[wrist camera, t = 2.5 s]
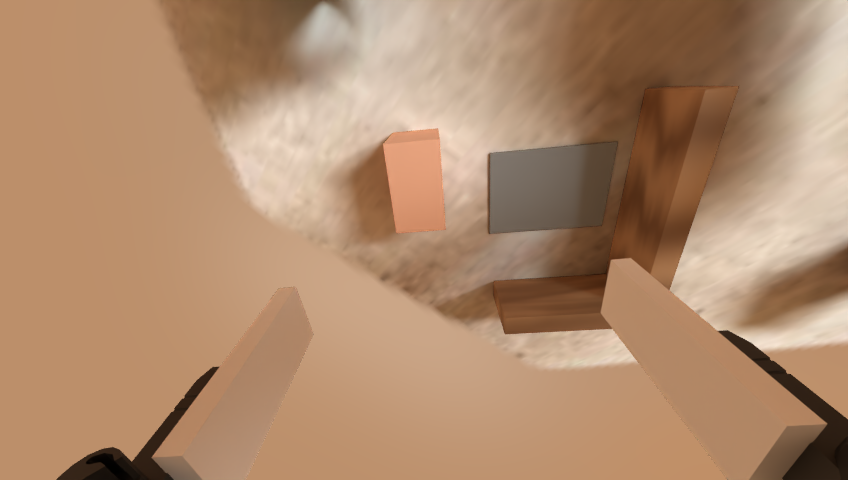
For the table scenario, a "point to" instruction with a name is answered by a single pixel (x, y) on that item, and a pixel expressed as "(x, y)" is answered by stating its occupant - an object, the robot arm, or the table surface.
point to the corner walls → (636, 210)
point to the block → (415, 180)
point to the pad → (550, 187)
